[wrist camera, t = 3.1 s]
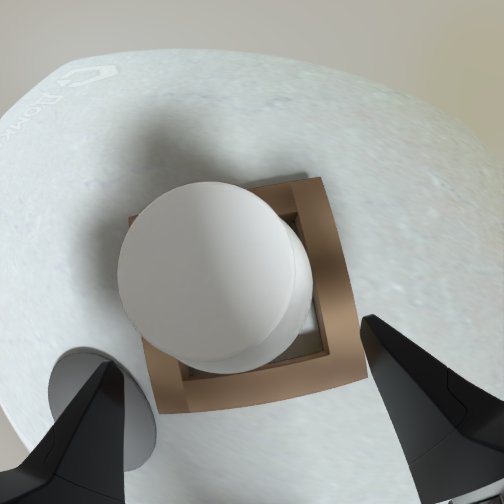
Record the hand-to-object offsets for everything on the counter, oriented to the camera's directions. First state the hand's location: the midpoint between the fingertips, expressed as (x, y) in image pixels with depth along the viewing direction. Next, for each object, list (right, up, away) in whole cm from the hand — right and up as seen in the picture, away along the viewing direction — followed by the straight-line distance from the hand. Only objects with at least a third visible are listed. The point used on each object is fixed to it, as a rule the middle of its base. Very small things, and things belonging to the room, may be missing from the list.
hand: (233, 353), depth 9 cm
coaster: (-12, -10, +9) cm, 18 cm away
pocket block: (0, 0, +10) cm, 10 cm away
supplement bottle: (0, 0, +11) cm, 11 cm away
